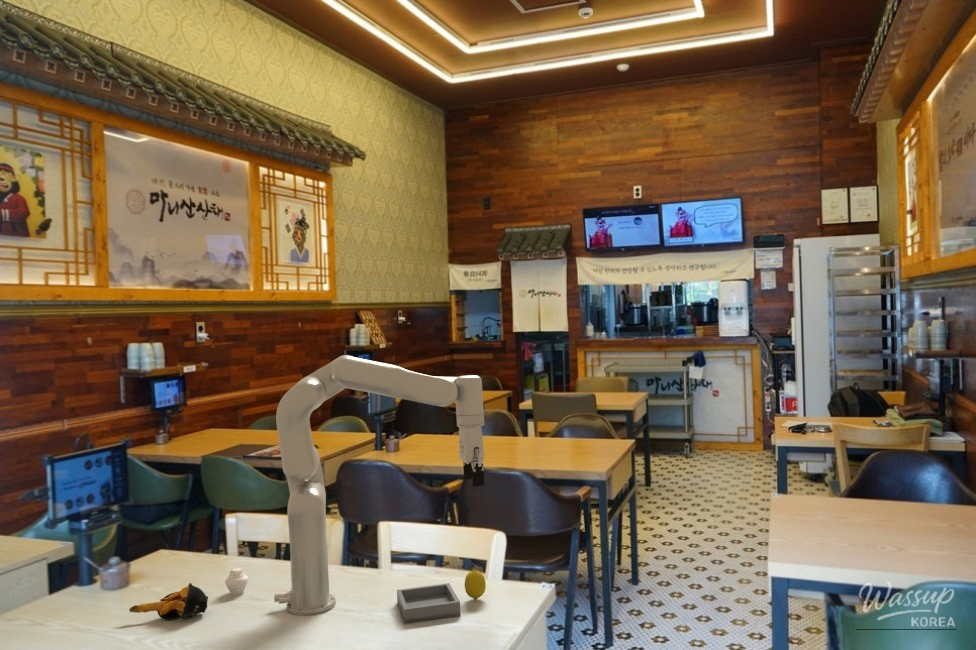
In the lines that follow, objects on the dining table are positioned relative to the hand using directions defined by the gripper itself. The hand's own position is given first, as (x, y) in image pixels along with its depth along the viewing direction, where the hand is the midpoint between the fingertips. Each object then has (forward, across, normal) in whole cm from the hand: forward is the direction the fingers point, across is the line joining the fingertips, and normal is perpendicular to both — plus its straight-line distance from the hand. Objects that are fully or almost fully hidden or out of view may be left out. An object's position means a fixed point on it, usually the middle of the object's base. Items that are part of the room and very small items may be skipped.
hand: (474, 482), depth 203 cm
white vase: (+28, -22, -65) cm, 74 cm away
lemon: (+29, +9, -4) cm, 31 cm away
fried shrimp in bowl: (+28, -9, -80) cm, 85 cm away
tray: (+29, +10, -17) cm, 35 cm away
